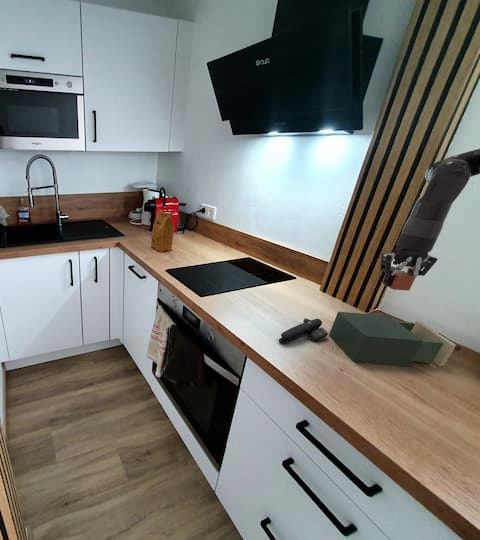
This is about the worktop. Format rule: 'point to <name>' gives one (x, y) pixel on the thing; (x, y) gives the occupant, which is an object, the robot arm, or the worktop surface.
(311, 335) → the can opener
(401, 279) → the block
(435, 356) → the drawer
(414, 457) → the worktop surface
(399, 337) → the cabinet
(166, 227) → the coffee package
